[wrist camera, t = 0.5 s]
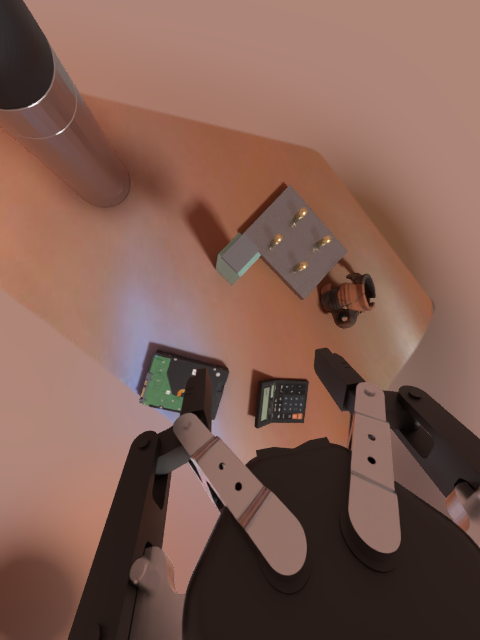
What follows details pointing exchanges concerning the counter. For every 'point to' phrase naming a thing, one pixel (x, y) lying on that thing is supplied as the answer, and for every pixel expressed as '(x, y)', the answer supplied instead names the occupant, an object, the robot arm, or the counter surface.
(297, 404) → the calculator
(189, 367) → the disk drive
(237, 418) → the counter surface
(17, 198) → the counter surface
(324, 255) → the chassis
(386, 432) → the robot arm
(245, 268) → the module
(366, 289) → the pottery mug
